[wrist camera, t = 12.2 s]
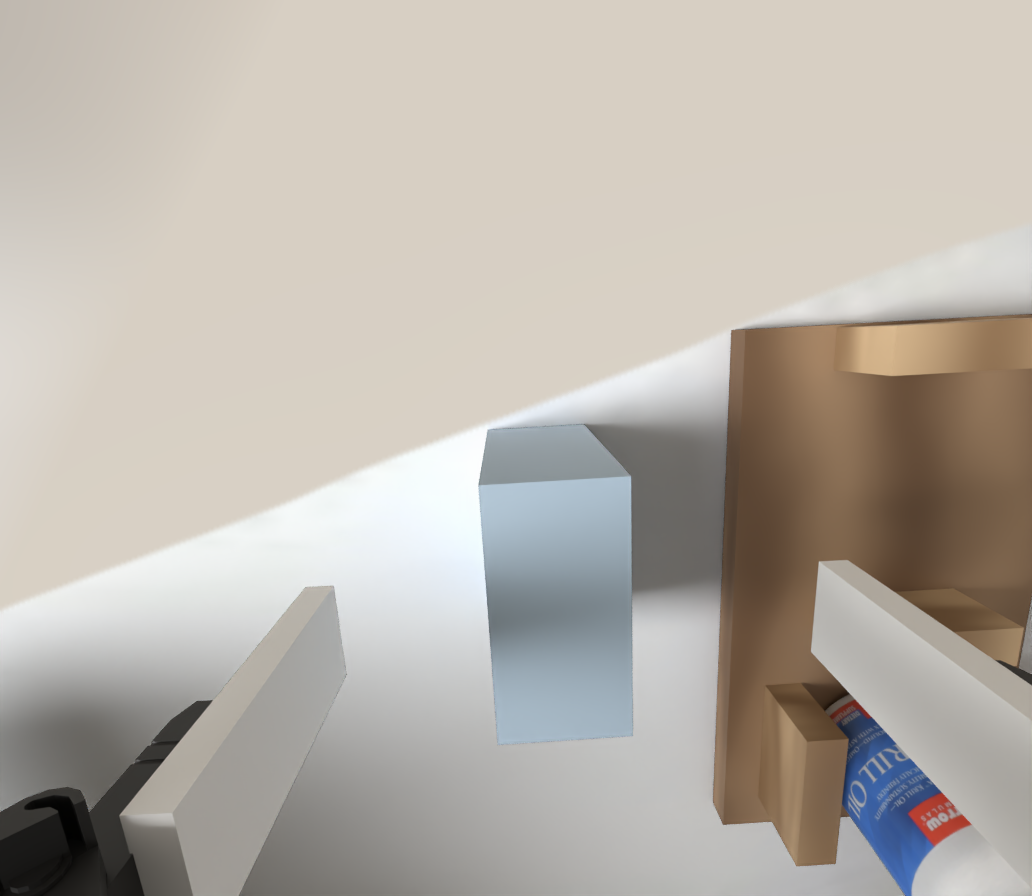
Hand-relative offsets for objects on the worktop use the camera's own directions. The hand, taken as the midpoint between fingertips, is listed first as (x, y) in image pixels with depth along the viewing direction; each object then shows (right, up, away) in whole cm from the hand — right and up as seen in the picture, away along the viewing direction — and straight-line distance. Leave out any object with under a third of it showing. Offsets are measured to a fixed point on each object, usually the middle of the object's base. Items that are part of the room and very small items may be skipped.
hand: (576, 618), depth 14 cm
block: (-1, +2, +8) cm, 8 cm away
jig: (+14, -2, +9) cm, 17 cm away
